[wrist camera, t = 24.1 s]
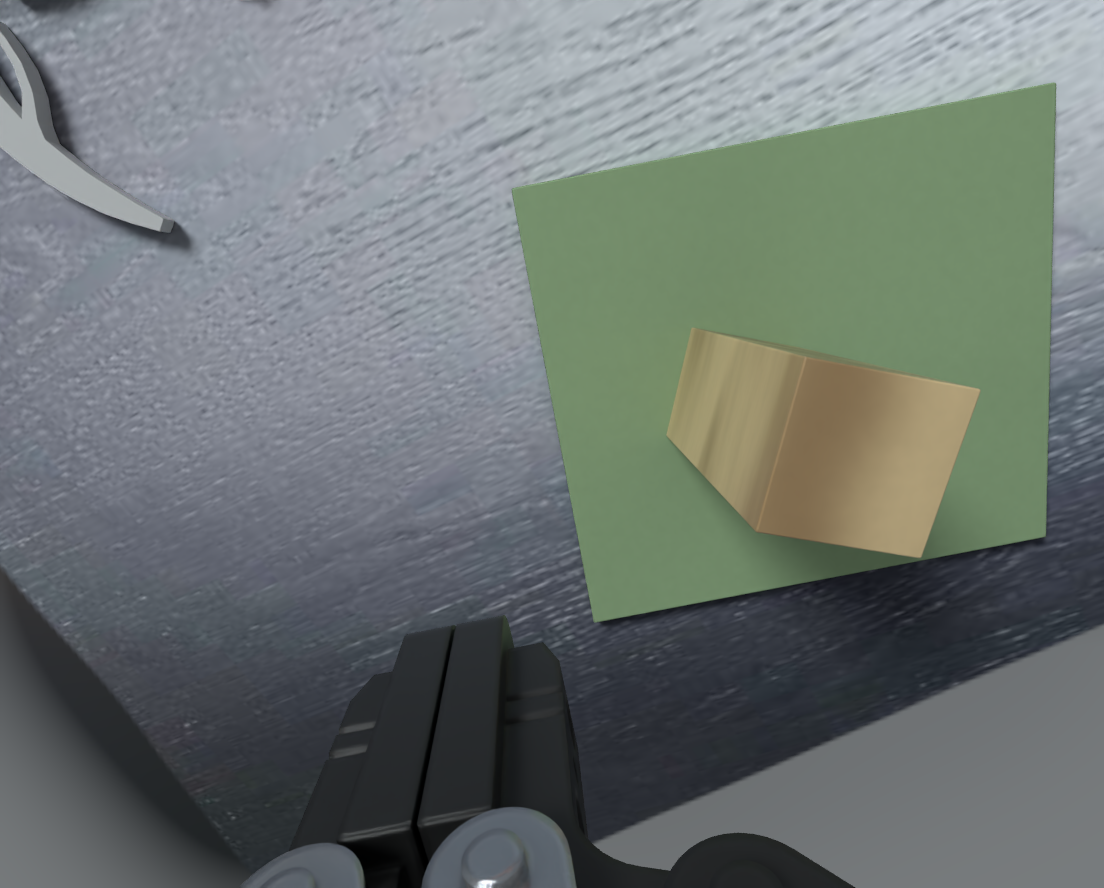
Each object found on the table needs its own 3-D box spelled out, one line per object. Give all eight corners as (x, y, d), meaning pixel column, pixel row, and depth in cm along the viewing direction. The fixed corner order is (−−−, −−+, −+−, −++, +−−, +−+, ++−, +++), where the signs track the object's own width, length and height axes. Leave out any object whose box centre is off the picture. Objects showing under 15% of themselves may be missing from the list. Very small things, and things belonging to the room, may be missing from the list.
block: (799, 347, 24) (982, 389, 14) (769, 453, 25) (922, 559, 15) (691, 327, 24) (805, 356, 14) (665, 436, 25) (755, 532, 15)
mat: (1035, 532, 27) (1046, 537, 27) (593, 616, 27) (594, 623, 27) (1043, 86, 23) (1057, 81, 22) (511, 190, 23) (511, 188, 22)
